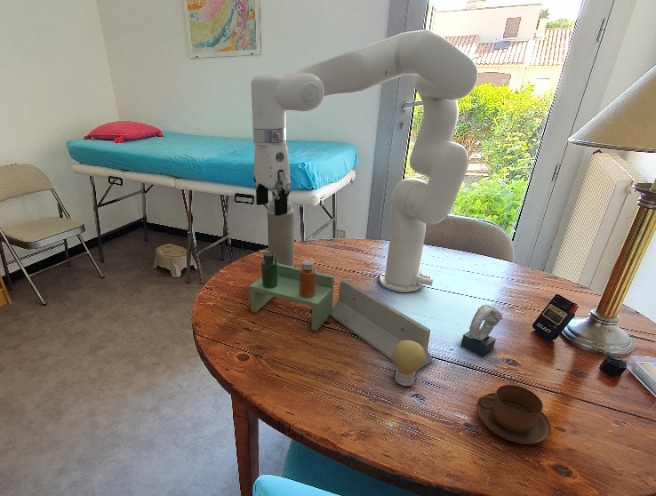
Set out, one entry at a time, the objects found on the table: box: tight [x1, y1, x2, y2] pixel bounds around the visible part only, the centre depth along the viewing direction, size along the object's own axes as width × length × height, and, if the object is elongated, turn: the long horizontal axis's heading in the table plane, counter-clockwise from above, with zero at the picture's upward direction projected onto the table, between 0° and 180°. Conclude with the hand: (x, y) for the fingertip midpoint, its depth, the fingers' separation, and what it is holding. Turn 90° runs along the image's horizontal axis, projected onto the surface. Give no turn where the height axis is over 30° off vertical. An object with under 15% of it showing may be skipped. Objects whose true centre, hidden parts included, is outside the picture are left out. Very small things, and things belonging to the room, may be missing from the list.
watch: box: [460, 304, 503, 358], centre depth 93 cm, size 6×8×11 cm
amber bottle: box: [299, 259, 317, 298], centre depth 101 cm, size 4×4×9 cm
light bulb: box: [392, 340, 425, 387], centre depth 83 cm, size 6×6×10 cm
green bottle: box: [260, 251, 278, 288], centre depth 106 cm, size 4×4×9 cm
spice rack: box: [249, 263, 335, 331], centre depth 108 cm, size 20×10×11 cm, turn 60°
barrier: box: [329, 279, 433, 368], centre depth 97 cm, size 28×7×10 cm, turn 32°
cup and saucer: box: [476, 384, 552, 445], centre depth 74 cm, size 12×12×6 cm
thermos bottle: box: [266, 189, 295, 267], centre depth 122 cm, size 8×8×28 cm
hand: (271, 209), depth 100 cm, fingers open, 9 cm apart
